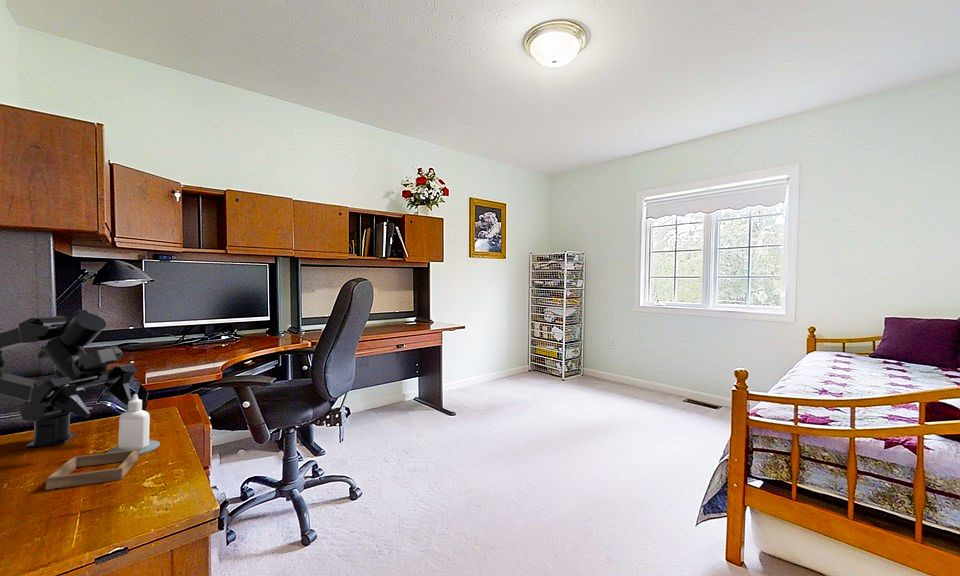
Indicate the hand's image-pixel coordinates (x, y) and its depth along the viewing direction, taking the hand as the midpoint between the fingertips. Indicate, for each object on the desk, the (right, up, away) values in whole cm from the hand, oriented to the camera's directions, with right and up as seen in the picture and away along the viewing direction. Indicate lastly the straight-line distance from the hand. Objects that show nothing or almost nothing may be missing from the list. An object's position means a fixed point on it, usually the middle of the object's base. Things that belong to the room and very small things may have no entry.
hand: (110, 410), depth 92 cm
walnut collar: (+9, -9, -13) cm, 18 cm away
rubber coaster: (+7, -9, -1) cm, 11 cm away
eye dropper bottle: (+6, -8, -1) cm, 11 cm away
